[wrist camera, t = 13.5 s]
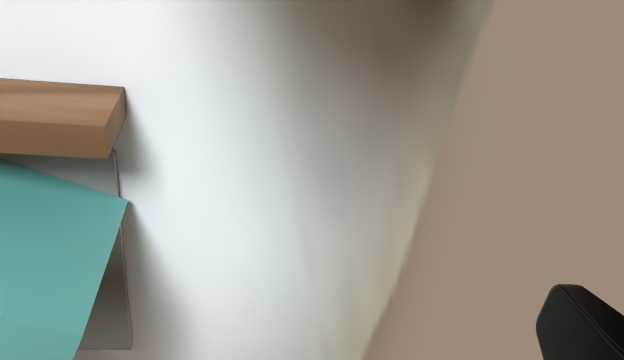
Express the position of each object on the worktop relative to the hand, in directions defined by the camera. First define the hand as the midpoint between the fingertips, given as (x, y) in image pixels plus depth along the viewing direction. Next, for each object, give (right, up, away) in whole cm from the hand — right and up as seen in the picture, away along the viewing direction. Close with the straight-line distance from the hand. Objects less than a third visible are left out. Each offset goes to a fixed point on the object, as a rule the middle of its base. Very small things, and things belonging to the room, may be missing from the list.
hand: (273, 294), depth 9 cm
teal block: (-11, -2, +15) cm, 19 cm away
